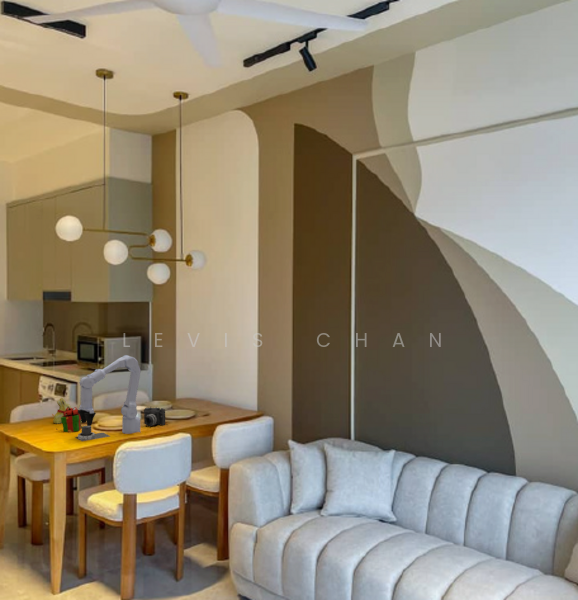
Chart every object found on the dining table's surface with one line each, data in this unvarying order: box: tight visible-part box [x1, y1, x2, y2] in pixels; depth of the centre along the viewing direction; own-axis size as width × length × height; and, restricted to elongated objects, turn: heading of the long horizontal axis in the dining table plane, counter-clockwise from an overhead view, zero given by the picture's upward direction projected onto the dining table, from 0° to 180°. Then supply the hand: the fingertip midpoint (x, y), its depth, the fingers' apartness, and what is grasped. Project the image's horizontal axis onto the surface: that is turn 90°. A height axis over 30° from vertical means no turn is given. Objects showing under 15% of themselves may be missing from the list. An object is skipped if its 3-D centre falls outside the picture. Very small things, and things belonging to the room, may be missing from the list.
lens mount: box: [74, 431, 111, 442], centre depth 322 cm, size 16×10×3 cm, turn 131°
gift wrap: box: [51, 406, 87, 434], centre depth 333 cm, size 20×19×14 cm
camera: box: [143, 406, 166, 427], centre depth 354 cm, size 14×11×10 cm
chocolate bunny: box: [52, 397, 72, 425], centre depth 357 cm, size 7×11×15 cm, turn 137°
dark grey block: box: [81, 425, 92, 436], centre depth 320 cm, size 5×5×6 cm
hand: (86, 424), depth 320 cm, fingers open, 7 cm apart
